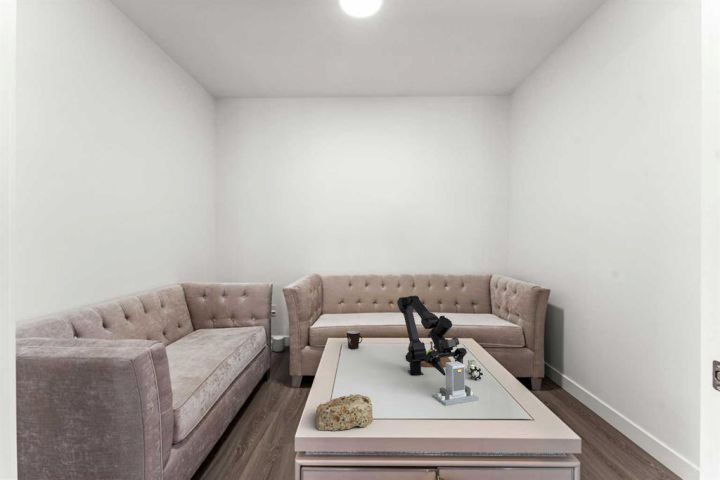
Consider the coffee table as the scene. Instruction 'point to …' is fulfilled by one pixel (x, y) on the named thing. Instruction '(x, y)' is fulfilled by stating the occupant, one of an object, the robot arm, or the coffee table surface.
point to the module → (455, 378)
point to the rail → (454, 397)
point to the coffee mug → (353, 339)
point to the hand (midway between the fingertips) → (454, 373)
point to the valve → (473, 370)
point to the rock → (344, 413)
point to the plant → (442, 360)
